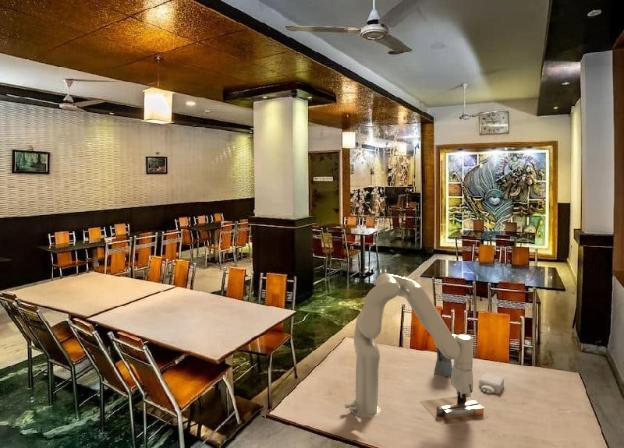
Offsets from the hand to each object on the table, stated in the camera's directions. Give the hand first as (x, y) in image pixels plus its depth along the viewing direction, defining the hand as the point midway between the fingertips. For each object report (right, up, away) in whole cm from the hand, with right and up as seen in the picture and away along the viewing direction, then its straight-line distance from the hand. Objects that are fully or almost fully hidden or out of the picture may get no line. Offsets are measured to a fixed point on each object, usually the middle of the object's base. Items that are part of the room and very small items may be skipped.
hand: (461, 404), depth 179 cm
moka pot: (+3, +1, +34) cm, 34 cm away
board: (-4, -3, -1) cm, 5 cm away
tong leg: (-3, -2, -3) cm, 5 cm away
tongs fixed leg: (-1, -2, -6) cm, 7 cm away
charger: (+20, -1, +18) cm, 27 cm away
